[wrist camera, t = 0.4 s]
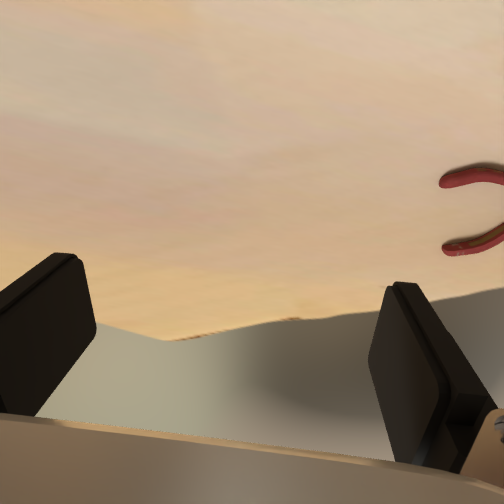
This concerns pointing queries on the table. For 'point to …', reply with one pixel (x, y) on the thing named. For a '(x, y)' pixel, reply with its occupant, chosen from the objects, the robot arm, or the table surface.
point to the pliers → (490, 238)
